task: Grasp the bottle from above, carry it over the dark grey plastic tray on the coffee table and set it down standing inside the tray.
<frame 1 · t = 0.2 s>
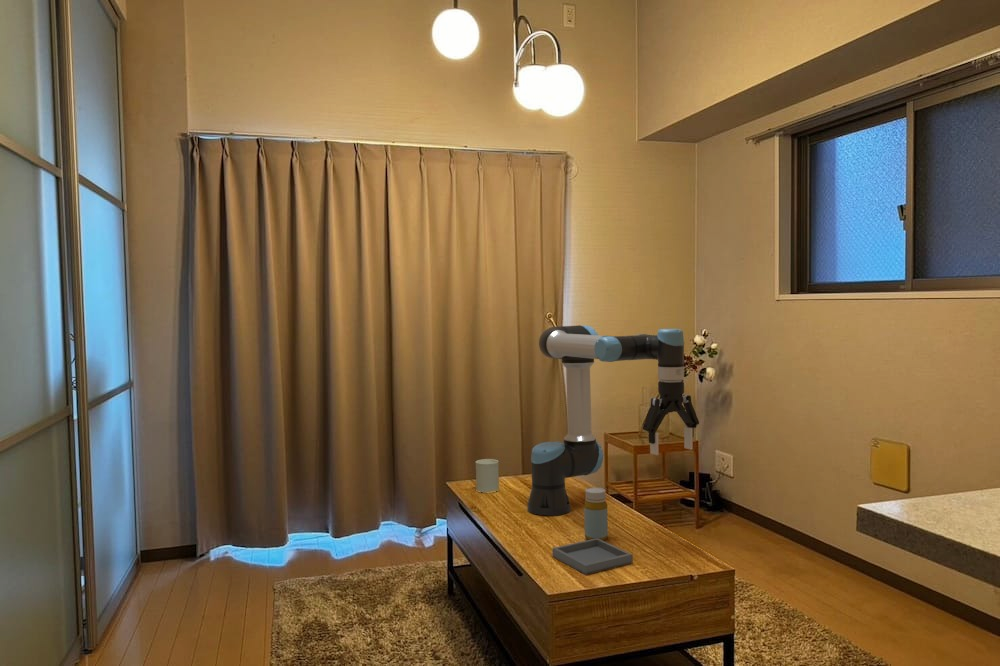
hand: (671, 451, 205), 28 cm above the table, tool pointing down, fingers open, 13 cm apart
bottle: (596, 538, 212), on the table
can: (487, 490, 270), on the table
tray: (592, 559, 194), on the table
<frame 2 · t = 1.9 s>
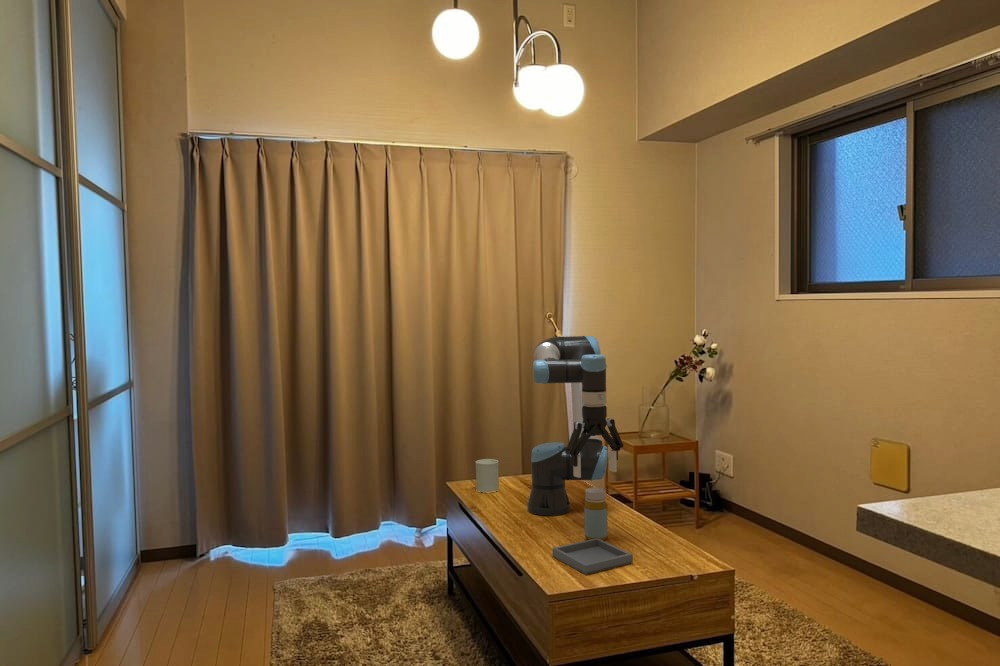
hand: (595, 474, 211), 20 cm above the table, tool pointing down, fingers open, 13 cm apart
nothing on the table moved.
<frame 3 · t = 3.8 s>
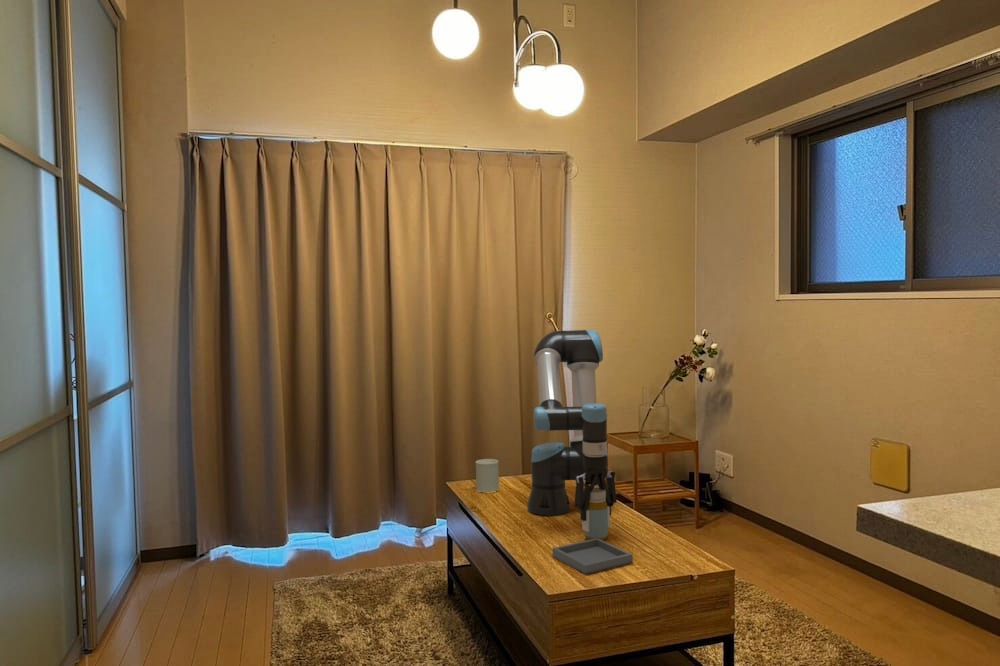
hand: (596, 528, 212), 3 cm above the table, tool pointing down, fingers closed on bottle, 7 cm apart
bottle: (596, 538, 212), on the table, touching gripper
everything else where it was.
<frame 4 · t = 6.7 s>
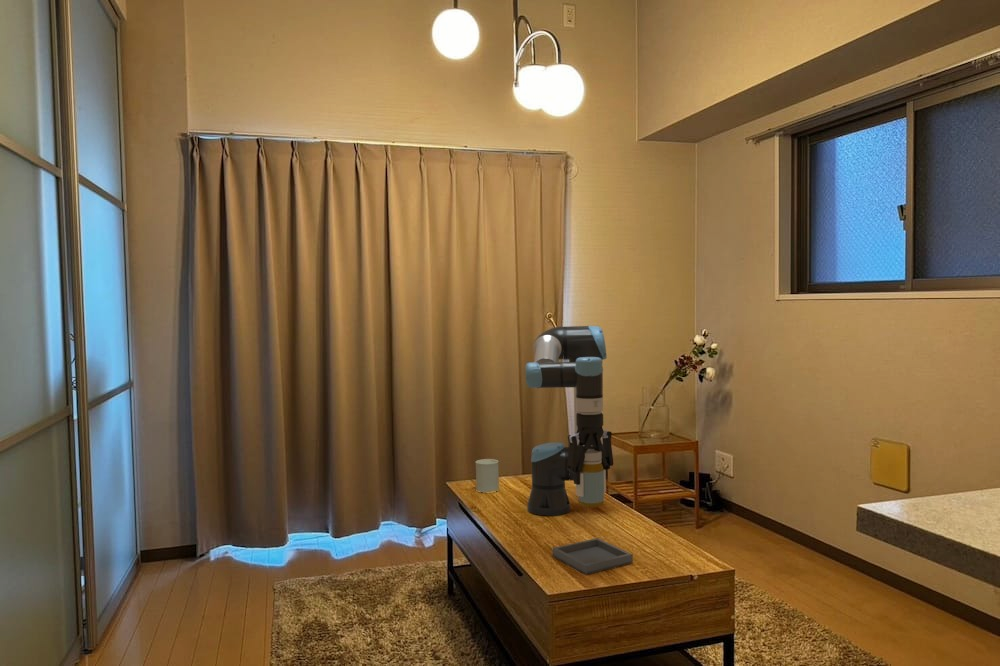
hand: (590, 493, 193), 19 cm above the table, tool pointing down, fingers closed on bottle, 7 cm apart
bottle: (591, 504, 193), point 16 cm above the table, touching gripper
everything else where it was.
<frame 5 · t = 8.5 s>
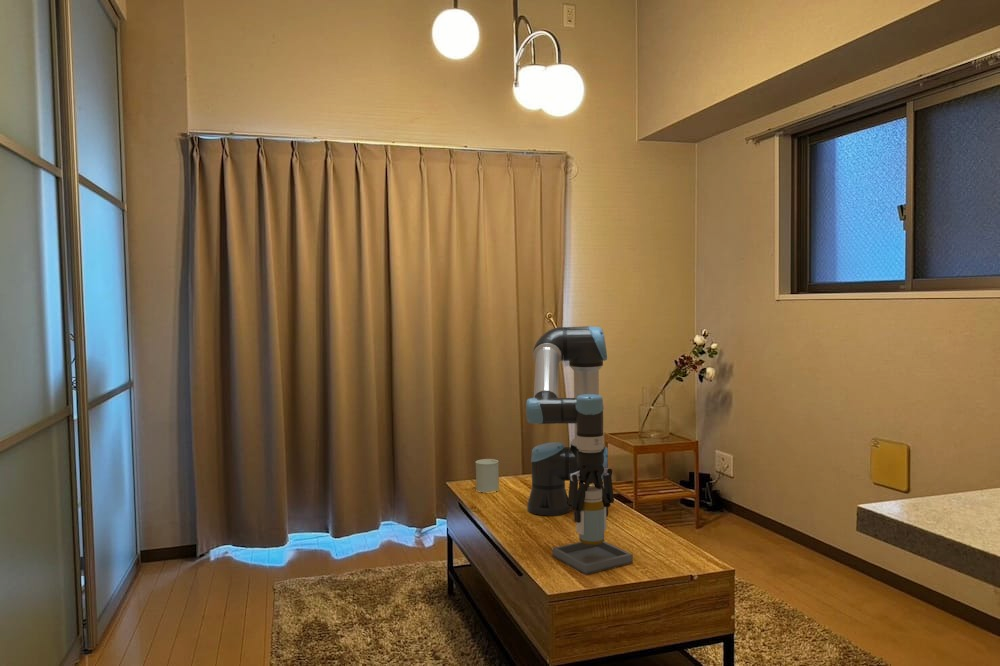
hand: (591, 530, 193), 8 cm above the table, tool pointing down, fingers closed on bottle, 7 cm apart
bottle: (591, 542, 193), point 5 cm above the table, touching gripper
everything else where it was.
when the fingers open (4 cm above the table, at t = 9.7 s): bottle stays where it is, resting on tray.
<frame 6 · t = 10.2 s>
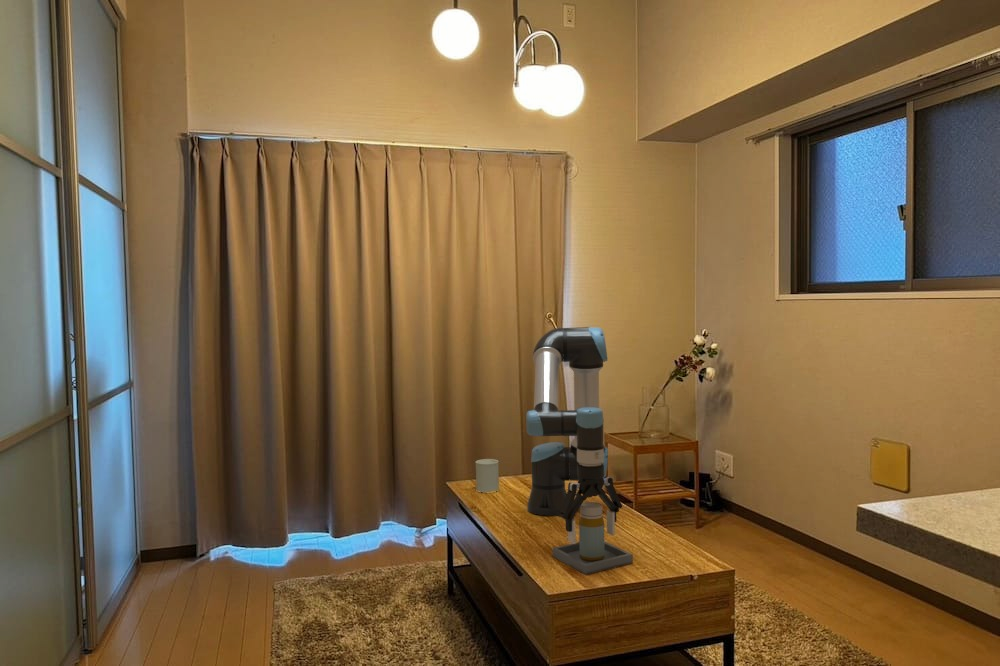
hand: (591, 538, 193), 6 cm above the table, tool pointing down, fingers open, 13 cm apart
bottle: (592, 558, 194), resting on tray
everything else where it was.
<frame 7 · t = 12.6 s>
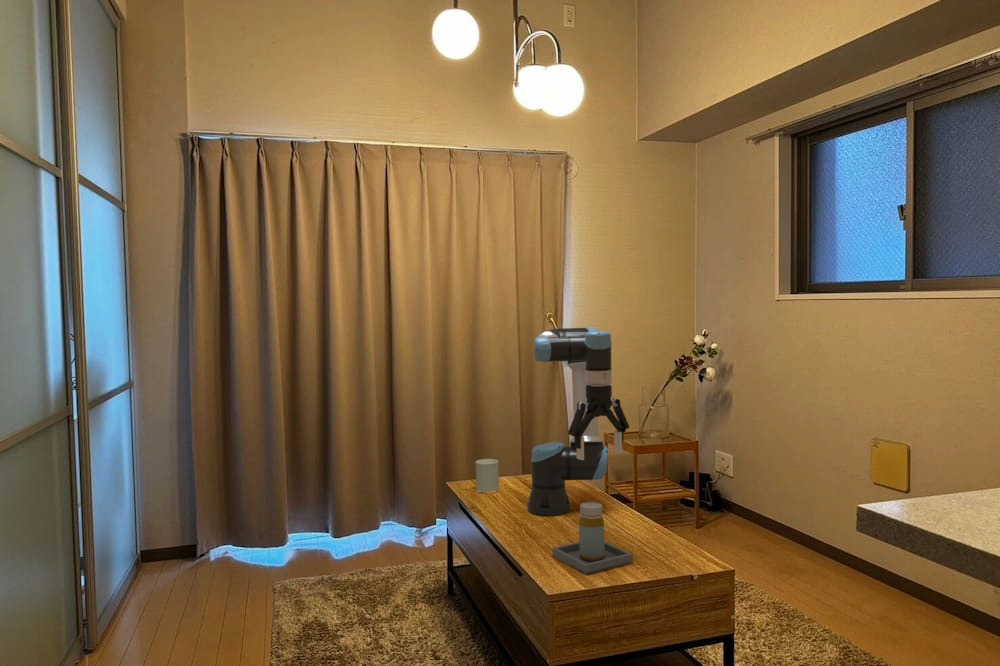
hand: (599, 456, 201), 27 cm above the table, tool pointing down, fingers open, 13 cm apart
nothing on the table moved.
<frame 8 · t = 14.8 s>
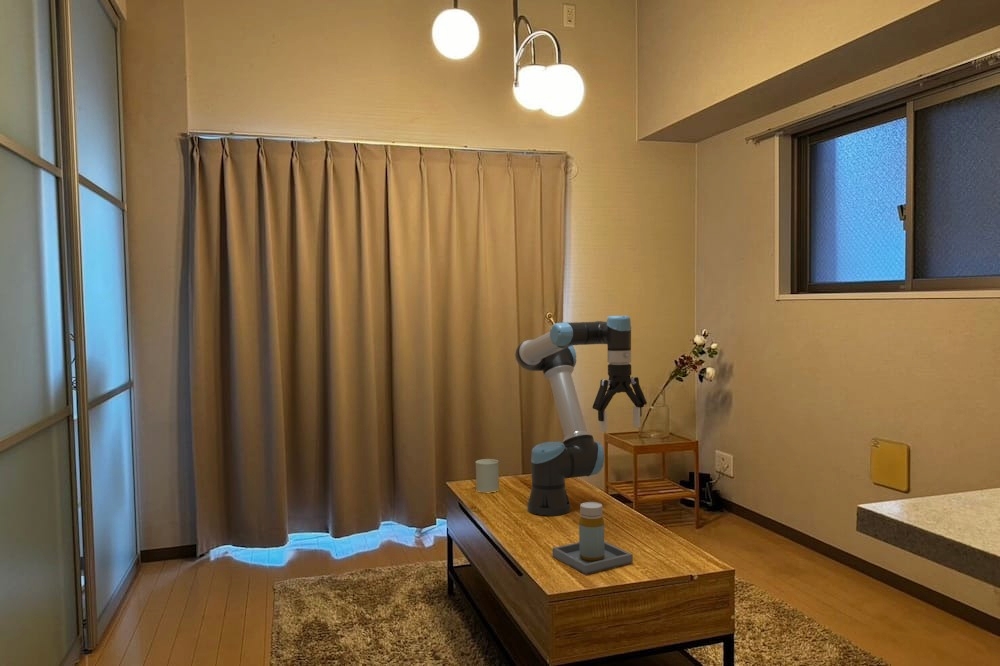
hand: (620, 429, 222), 32 cm above the table, tool pointing down, fingers open, 13 cm apart
nothing on the table moved.
at the end: bottle inside the target area on the tray (0.1 cm from its centre), point 0.4 cm above the tray's base; bottle tilted 0°; the gripper is holding nothing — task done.
